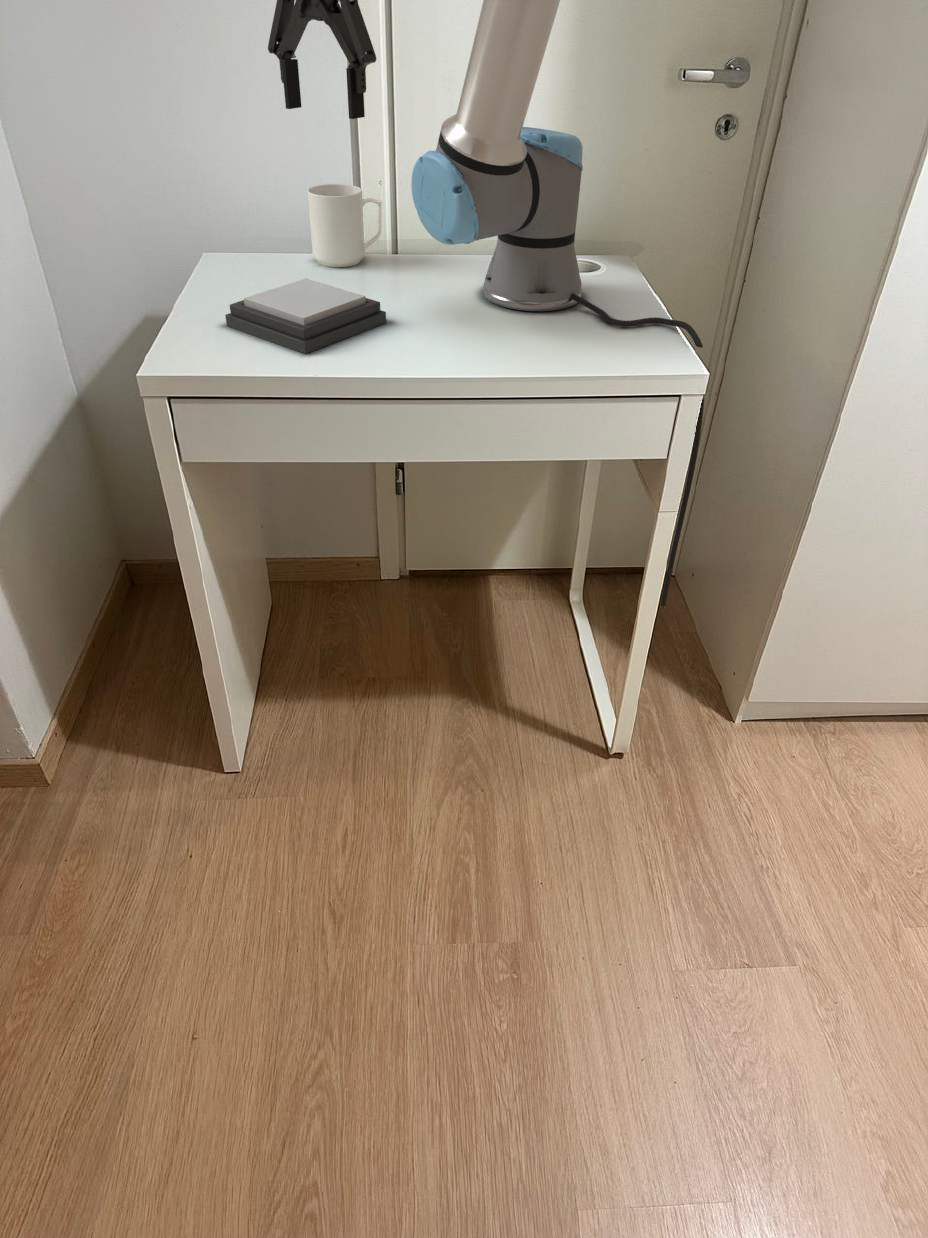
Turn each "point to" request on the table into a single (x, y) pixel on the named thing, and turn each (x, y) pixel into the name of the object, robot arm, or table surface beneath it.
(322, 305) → the light grey square tile
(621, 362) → the table surface
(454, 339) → the table surface
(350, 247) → the mug
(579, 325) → the table surface
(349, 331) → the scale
